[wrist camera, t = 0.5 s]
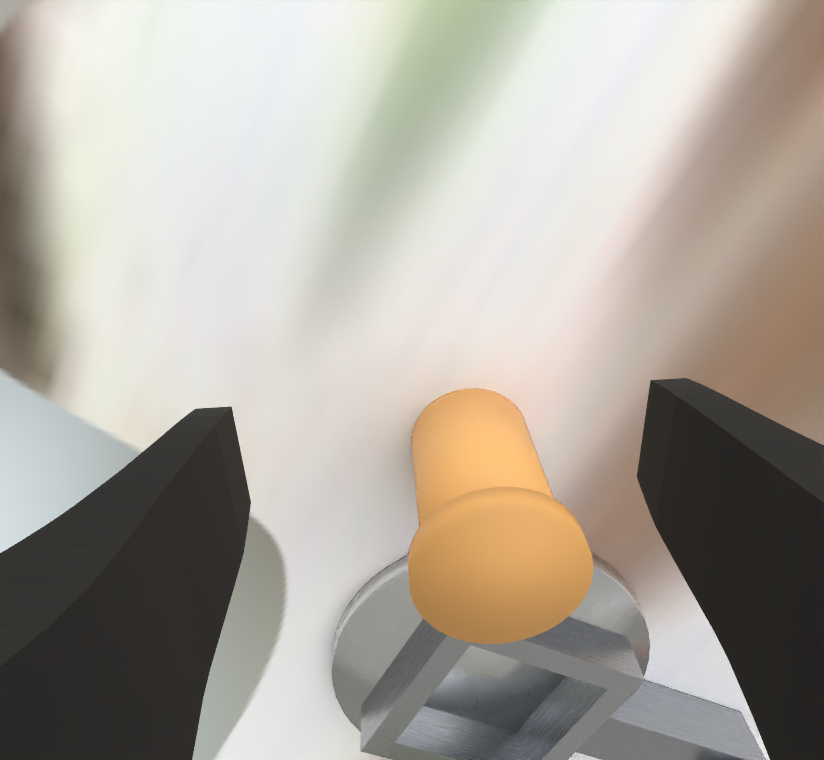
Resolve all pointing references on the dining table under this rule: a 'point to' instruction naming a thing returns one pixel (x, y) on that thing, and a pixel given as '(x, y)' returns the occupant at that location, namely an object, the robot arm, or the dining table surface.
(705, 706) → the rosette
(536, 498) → the pin
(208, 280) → the dining table surface
